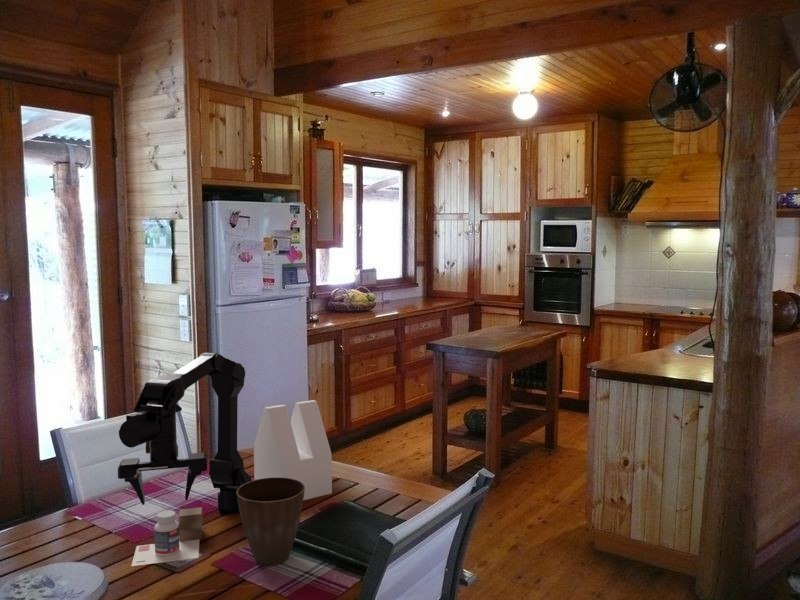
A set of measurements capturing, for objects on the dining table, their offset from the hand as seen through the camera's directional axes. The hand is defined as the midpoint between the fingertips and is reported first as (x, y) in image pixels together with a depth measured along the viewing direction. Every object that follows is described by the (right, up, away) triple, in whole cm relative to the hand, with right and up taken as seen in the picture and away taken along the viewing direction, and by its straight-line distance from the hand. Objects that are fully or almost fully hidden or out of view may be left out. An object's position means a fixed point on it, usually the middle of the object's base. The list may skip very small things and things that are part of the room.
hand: (165, 502), depth 147 cm
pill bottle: (0, -12, +1) cm, 12 cm away
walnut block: (+3, -11, +9) cm, 15 cm away
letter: (0, -12, +1) cm, 12 cm away
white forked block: (+22, -9, +40) cm, 47 cm away
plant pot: (+25, -12, -1) cm, 28 cm away
